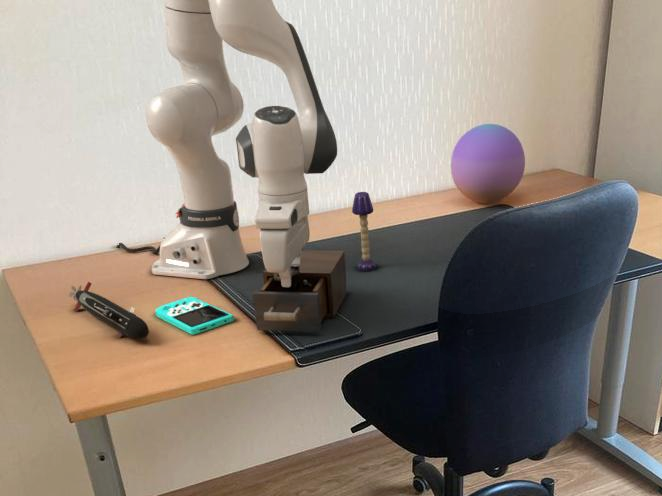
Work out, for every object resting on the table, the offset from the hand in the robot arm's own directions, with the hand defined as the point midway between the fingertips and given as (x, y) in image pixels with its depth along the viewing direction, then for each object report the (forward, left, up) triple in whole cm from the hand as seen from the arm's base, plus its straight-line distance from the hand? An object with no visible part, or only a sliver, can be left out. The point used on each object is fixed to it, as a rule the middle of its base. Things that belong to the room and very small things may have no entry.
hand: (291, 279), depth 158 cm
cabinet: (0, +11, -9) cm, 14 cm away
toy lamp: (+8, +33, -9) cm, 35 cm away
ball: (+32, +89, -9) cm, 95 cm away
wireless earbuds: (0, 0, -2) cm, 2 cm away
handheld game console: (-22, +2, -9) cm, 24 cm away
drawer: (0, -1, -8) cm, 8 cm away
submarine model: (-39, -3, -9) cm, 40 cm away
